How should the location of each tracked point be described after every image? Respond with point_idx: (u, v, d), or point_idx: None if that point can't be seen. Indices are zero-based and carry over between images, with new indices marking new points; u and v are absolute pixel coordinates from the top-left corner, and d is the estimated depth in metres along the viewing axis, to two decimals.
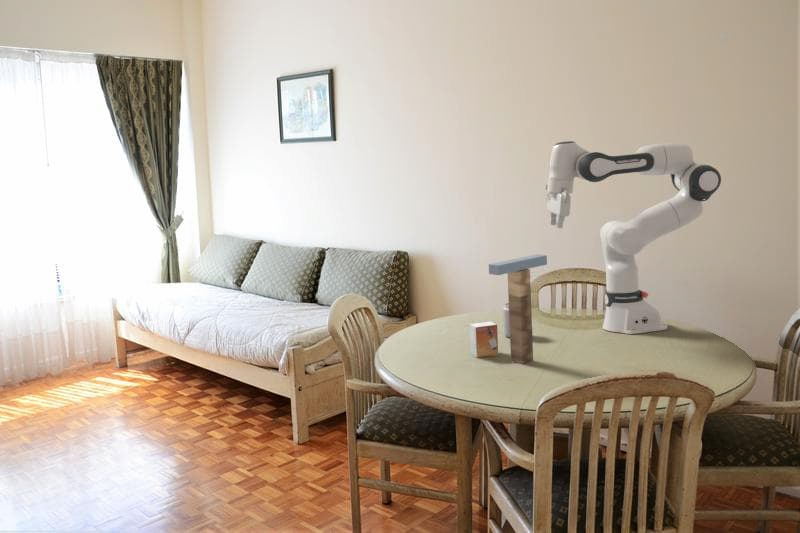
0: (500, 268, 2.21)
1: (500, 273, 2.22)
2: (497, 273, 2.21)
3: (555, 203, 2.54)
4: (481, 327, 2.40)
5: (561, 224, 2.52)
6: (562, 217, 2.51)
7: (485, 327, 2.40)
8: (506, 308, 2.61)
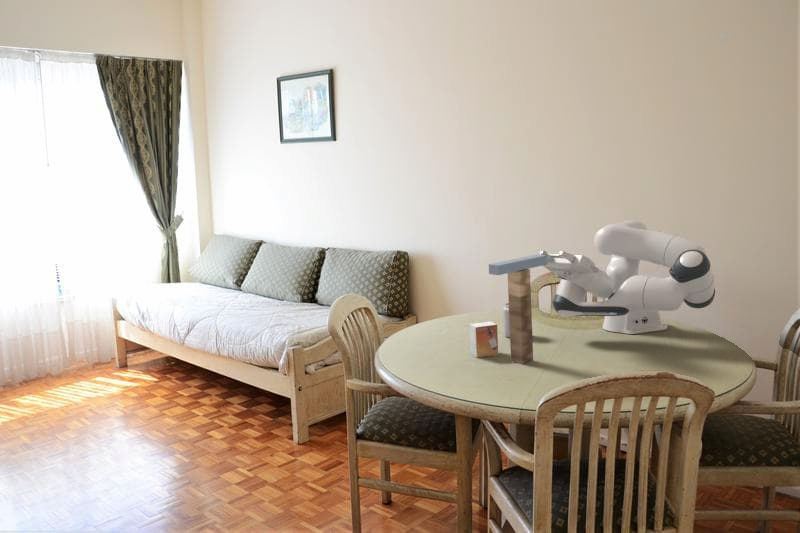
0: (500, 268, 2.21)
1: (500, 273, 2.22)
2: (497, 273, 2.21)
3: None
4: (481, 327, 2.40)
5: (564, 256, 2.33)
6: (572, 259, 2.33)
7: (485, 327, 2.40)
8: (506, 308, 2.61)
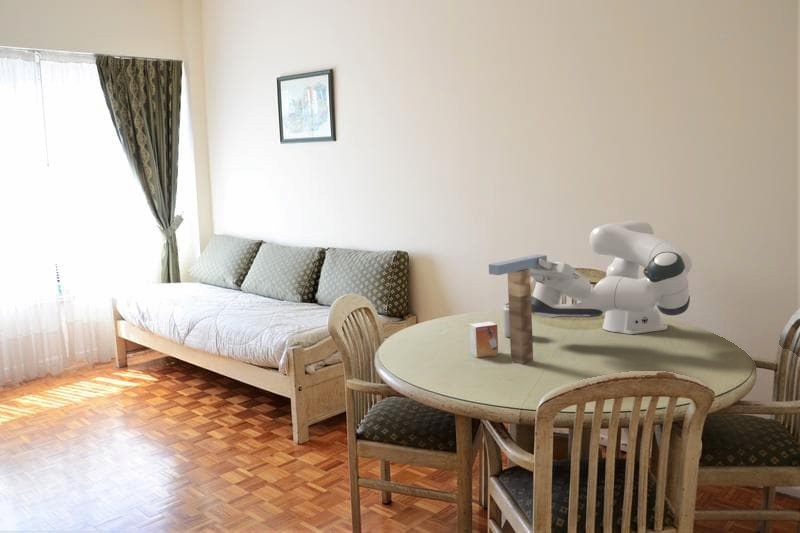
0: (500, 268, 2.21)
1: (500, 273, 2.22)
2: (497, 273, 2.21)
3: None
4: (481, 327, 2.40)
5: (542, 263, 2.31)
6: (549, 266, 2.31)
7: (485, 327, 2.40)
8: (506, 308, 2.61)
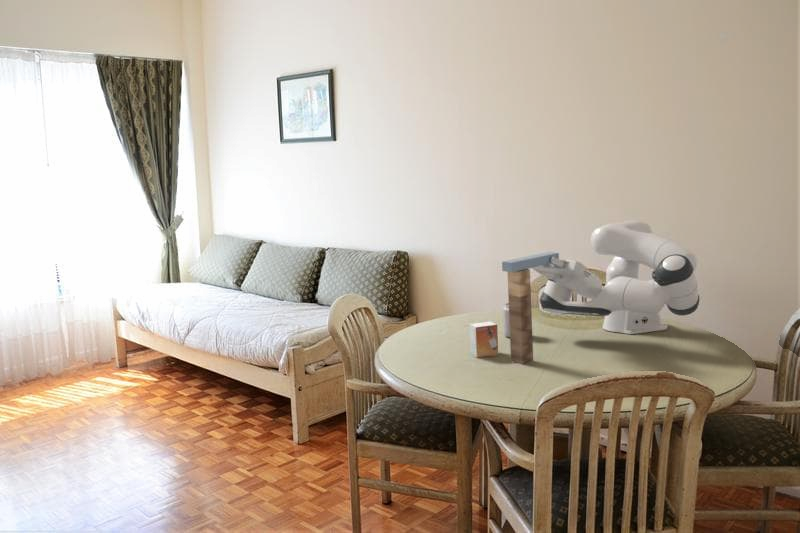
0: (513, 266, 2.25)
1: (513, 270, 2.25)
2: (510, 270, 2.25)
3: None
4: (481, 327, 2.40)
5: (554, 261, 2.34)
6: (562, 264, 2.35)
7: (485, 327, 2.40)
8: (506, 308, 2.61)
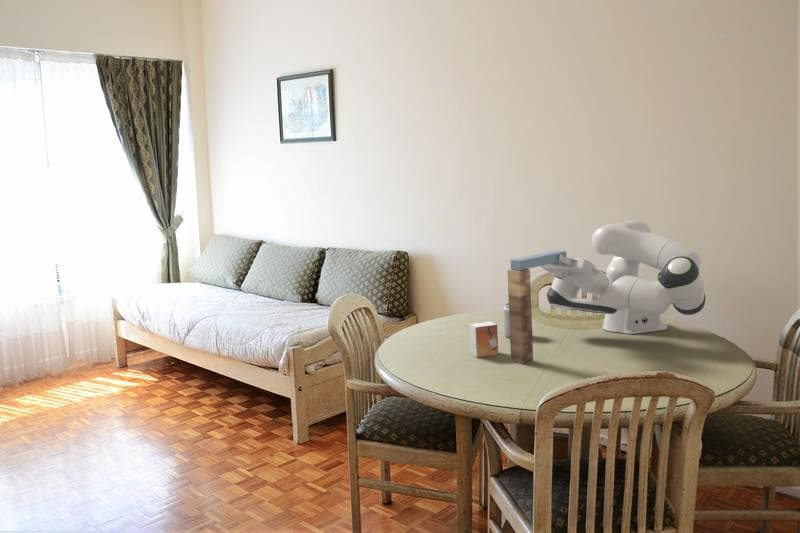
0: (522, 264, 2.27)
1: (522, 268, 2.27)
2: (519, 268, 2.27)
3: None
4: (481, 327, 2.40)
5: (562, 260, 2.36)
6: (569, 262, 2.37)
7: (485, 327, 2.40)
8: (506, 308, 2.61)
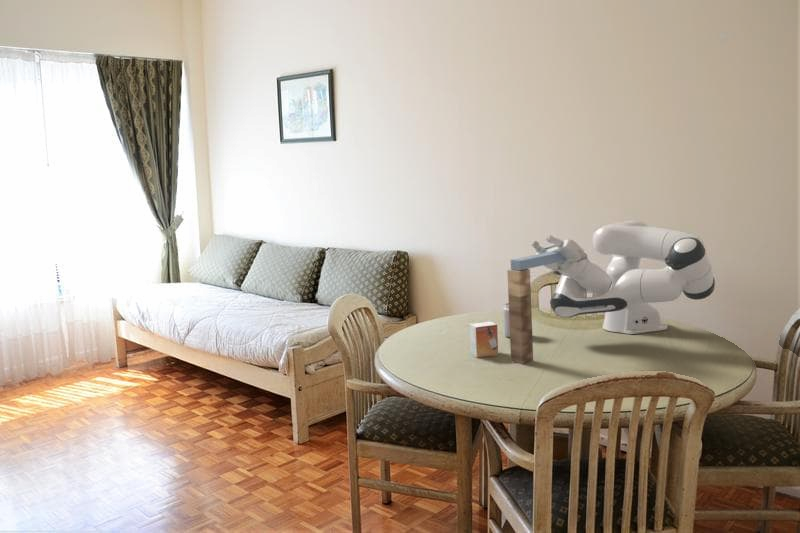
0: (522, 264, 2.27)
1: (522, 268, 2.27)
2: (519, 268, 2.27)
3: None
4: (481, 327, 2.40)
5: (552, 240, 2.36)
6: (560, 243, 2.35)
7: (485, 327, 2.40)
8: (506, 308, 2.61)
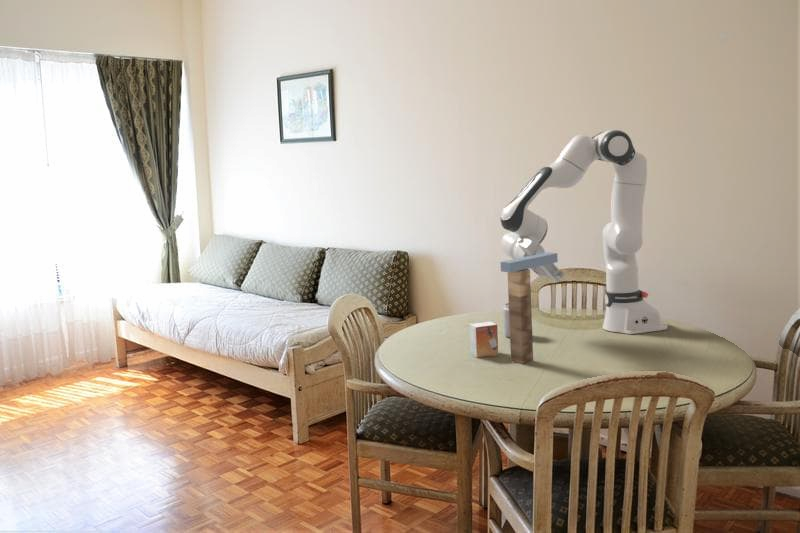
0: (512, 266, 2.24)
1: (512, 270, 2.25)
2: (509, 270, 2.24)
3: None
4: (481, 327, 2.40)
5: None
6: (537, 251, 2.42)
7: (485, 327, 2.40)
8: (506, 308, 2.61)
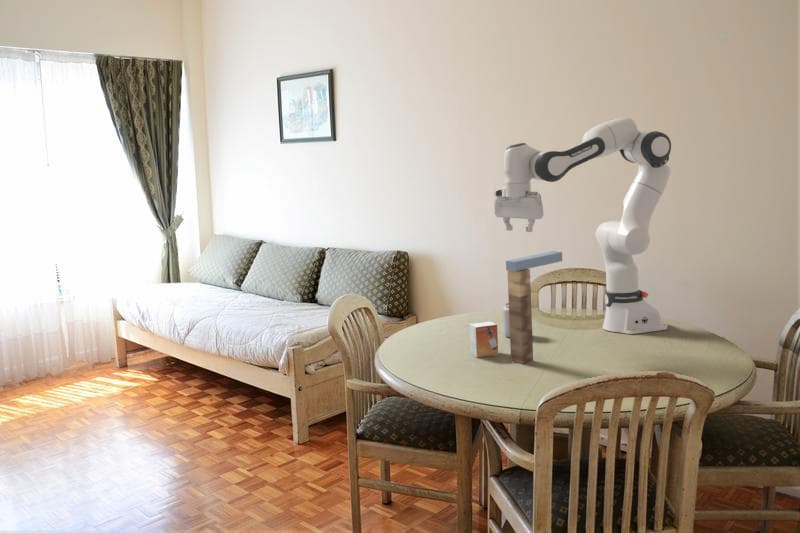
0: (517, 265, 2.26)
1: (517, 269, 2.26)
2: (514, 269, 2.26)
3: (520, 208, 2.47)
4: (481, 327, 2.40)
5: (531, 227, 2.48)
6: (533, 220, 2.46)
7: (485, 327, 2.40)
8: (506, 308, 2.61)
